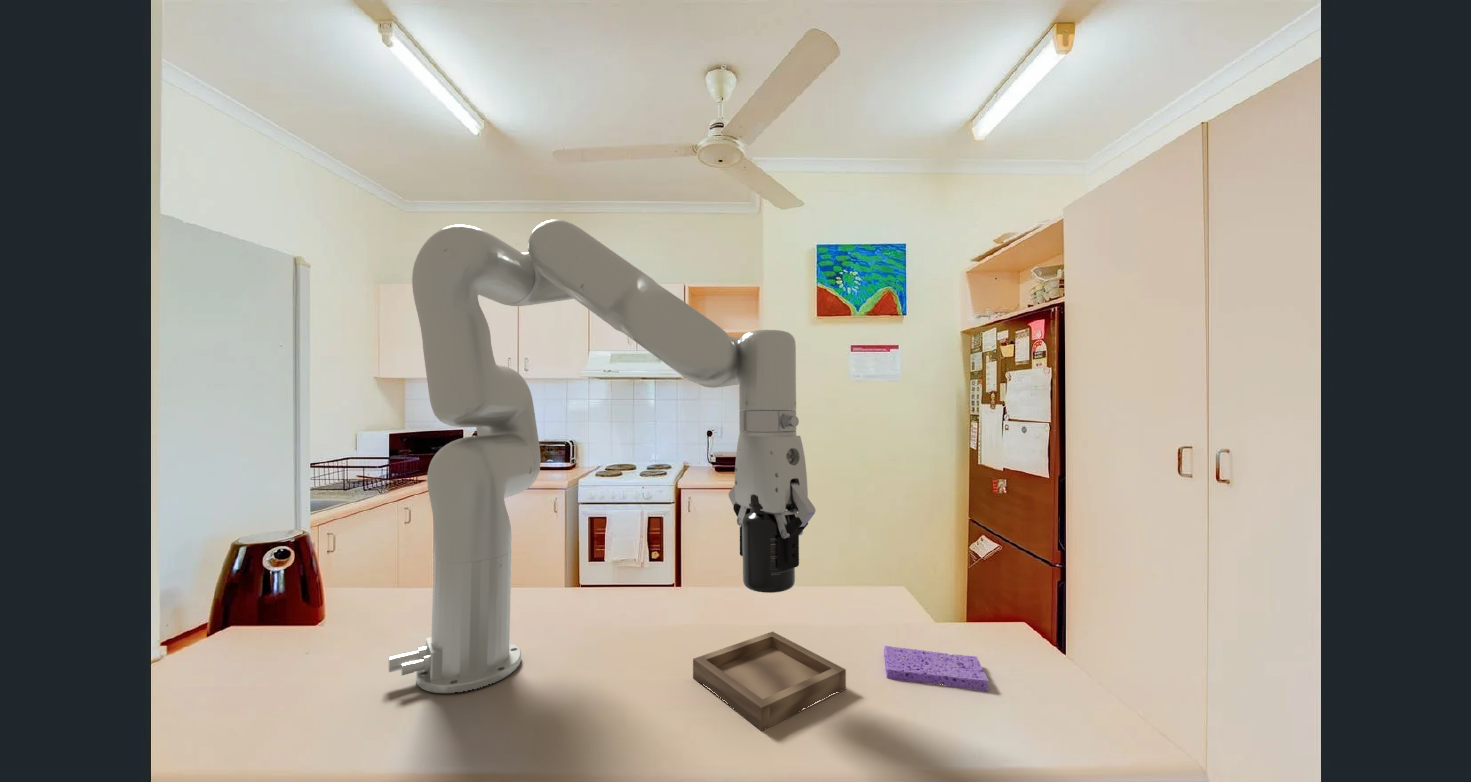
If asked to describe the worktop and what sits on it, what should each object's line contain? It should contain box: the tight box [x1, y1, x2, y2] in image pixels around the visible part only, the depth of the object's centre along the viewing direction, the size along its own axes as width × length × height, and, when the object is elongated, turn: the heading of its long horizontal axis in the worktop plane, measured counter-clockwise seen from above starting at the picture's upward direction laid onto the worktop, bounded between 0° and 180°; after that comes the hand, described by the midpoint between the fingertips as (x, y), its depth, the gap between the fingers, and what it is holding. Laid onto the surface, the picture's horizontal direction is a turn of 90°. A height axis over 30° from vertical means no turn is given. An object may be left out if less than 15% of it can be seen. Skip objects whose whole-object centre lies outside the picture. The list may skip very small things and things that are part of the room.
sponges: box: [883, 645, 989, 692], centre depth 69 cm, size 7×13×2 cm, turn 75°
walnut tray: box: [692, 631, 847, 732], centre depth 66 cm, size 14×14×2 cm
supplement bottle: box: [742, 494, 796, 594], centre depth 67 cm, size 7×7×12 cm
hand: (768, 560), depth 66 cm, fingers closed on supplement bottle, 6 cm apart
